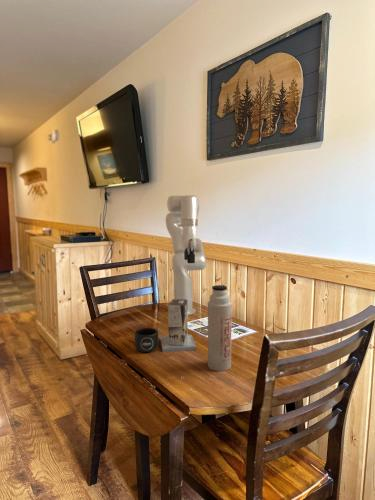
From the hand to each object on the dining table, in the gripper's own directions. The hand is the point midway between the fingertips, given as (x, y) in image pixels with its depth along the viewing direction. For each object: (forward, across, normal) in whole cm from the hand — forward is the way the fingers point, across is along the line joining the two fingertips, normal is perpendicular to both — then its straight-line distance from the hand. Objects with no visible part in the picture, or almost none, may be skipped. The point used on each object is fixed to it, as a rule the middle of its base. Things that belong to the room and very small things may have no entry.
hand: (189, 261), depth 155 cm
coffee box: (+29, +20, -8) cm, 36 cm away
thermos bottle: (+31, +41, +4) cm, 51 cm away
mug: (+31, +21, -20) cm, 43 cm away
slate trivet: (+30, +20, -8) cm, 37 cm away
